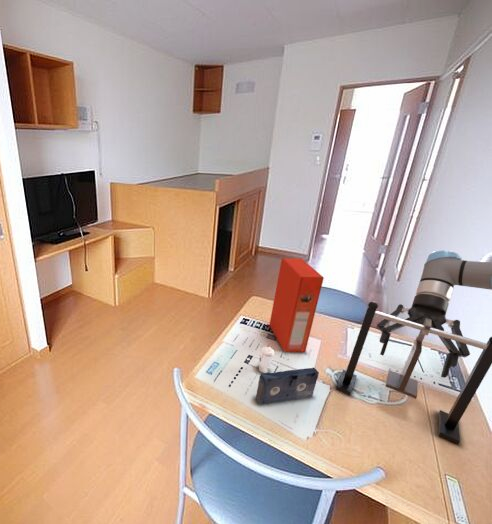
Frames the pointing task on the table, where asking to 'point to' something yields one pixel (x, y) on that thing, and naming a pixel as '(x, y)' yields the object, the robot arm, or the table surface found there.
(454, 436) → the coat rack
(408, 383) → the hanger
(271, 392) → the vhs cassette tape
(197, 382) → the table surface
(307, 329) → the file binder
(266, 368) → the milkshake
